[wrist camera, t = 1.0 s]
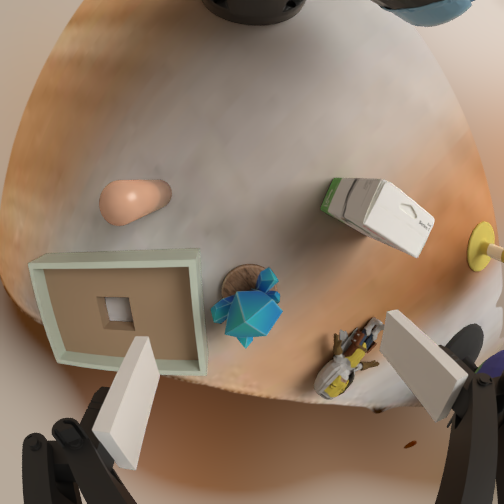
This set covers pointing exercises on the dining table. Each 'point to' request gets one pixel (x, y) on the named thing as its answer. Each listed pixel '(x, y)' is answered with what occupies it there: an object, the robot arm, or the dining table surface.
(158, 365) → the box
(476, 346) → the globe
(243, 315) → the gemstone
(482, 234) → the candle
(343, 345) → the toy
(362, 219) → the ink box
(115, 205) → the peg
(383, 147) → the dining table surface
